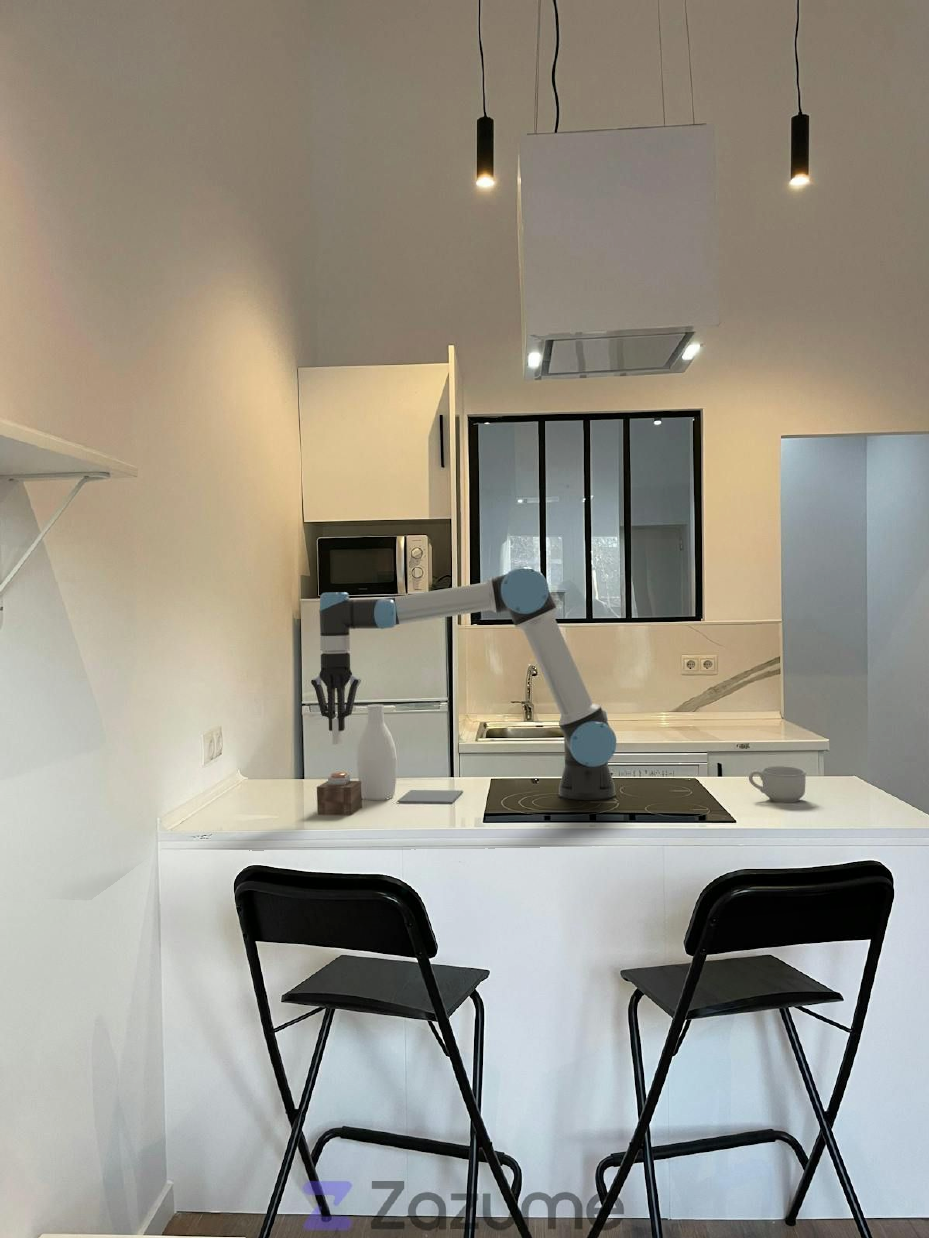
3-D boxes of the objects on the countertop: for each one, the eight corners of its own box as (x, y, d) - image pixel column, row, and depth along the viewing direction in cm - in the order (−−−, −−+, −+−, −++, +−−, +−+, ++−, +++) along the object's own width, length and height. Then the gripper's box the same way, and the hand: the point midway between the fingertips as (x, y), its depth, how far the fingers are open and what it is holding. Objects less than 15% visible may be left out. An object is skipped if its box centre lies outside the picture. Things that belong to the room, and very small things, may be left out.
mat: (463, 792, 267) (463, 790, 267) (452, 803, 252) (452, 801, 252) (410, 792, 270) (410, 789, 270) (397, 803, 255) (397, 800, 255)
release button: (350, 793, 249) (349, 772, 249) (345, 797, 245) (344, 775, 245) (334, 793, 250) (333, 772, 250) (328, 797, 245) (328, 775, 245)
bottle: (349, 798, 263) (346, 706, 262) (375, 791, 272) (372, 702, 271) (380, 802, 256) (377, 707, 256) (406, 795, 265) (403, 703, 265)
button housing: (361, 807, 251) (361, 780, 251) (351, 814, 242) (350, 787, 242) (329, 806, 253) (328, 780, 252) (317, 814, 244) (316, 786, 244)
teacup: (808, 797, 248) (807, 766, 248) (804, 806, 238) (803, 774, 238) (753, 794, 254) (752, 764, 254) (746, 802, 244) (746, 771, 244)
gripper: (363, 651, 249) (365, 741, 250) (316, 651, 252) (317, 741, 252) (355, 652, 242) (357, 745, 242) (306, 653, 244) (308, 745, 245)
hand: (337, 743), depth 247 cm, fingers closed
